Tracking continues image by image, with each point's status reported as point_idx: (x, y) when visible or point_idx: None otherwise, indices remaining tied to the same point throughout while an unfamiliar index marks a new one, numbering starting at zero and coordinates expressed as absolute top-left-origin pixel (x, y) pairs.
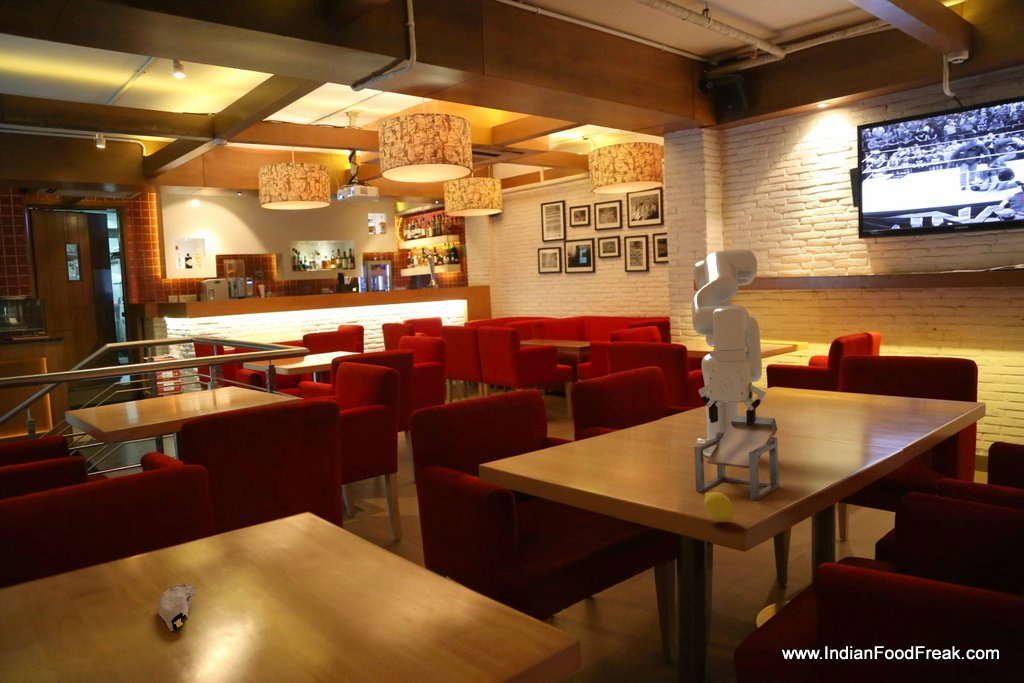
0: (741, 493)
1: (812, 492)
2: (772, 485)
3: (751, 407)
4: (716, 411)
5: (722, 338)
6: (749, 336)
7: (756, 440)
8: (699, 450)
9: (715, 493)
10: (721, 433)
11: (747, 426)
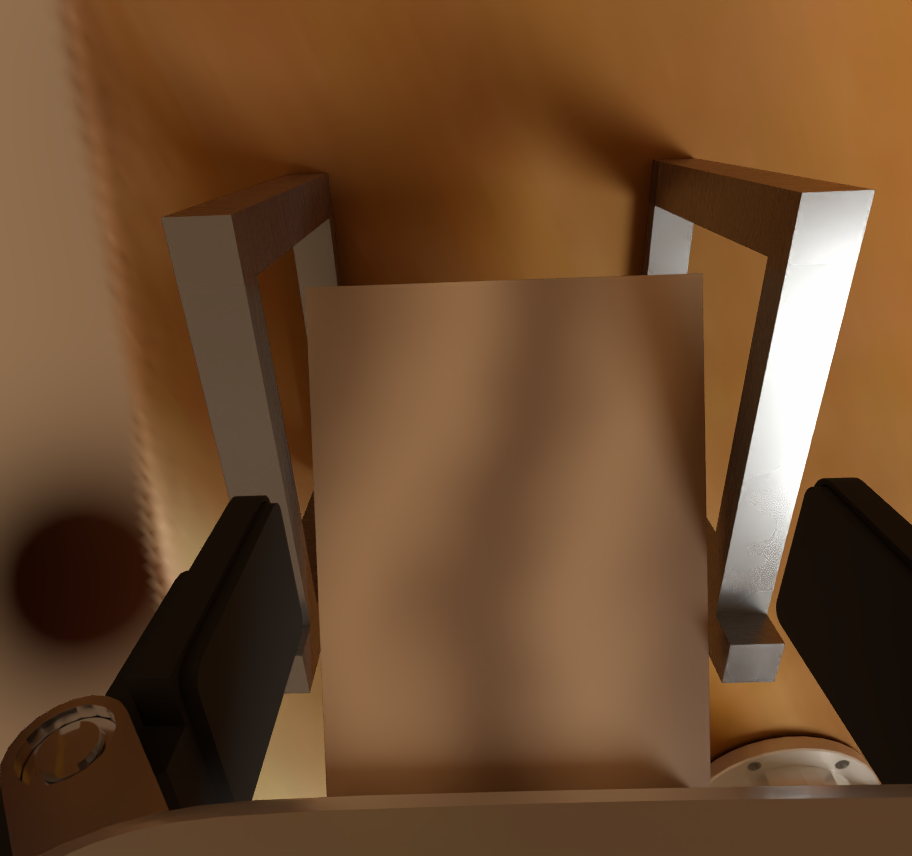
0: (434, 269)
1: (155, 466)
2: None
3: (44, 755)
4: (866, 699)
5: None
6: None
7: (407, 624)
8: (793, 188)
9: None
10: (732, 649)
11: None
